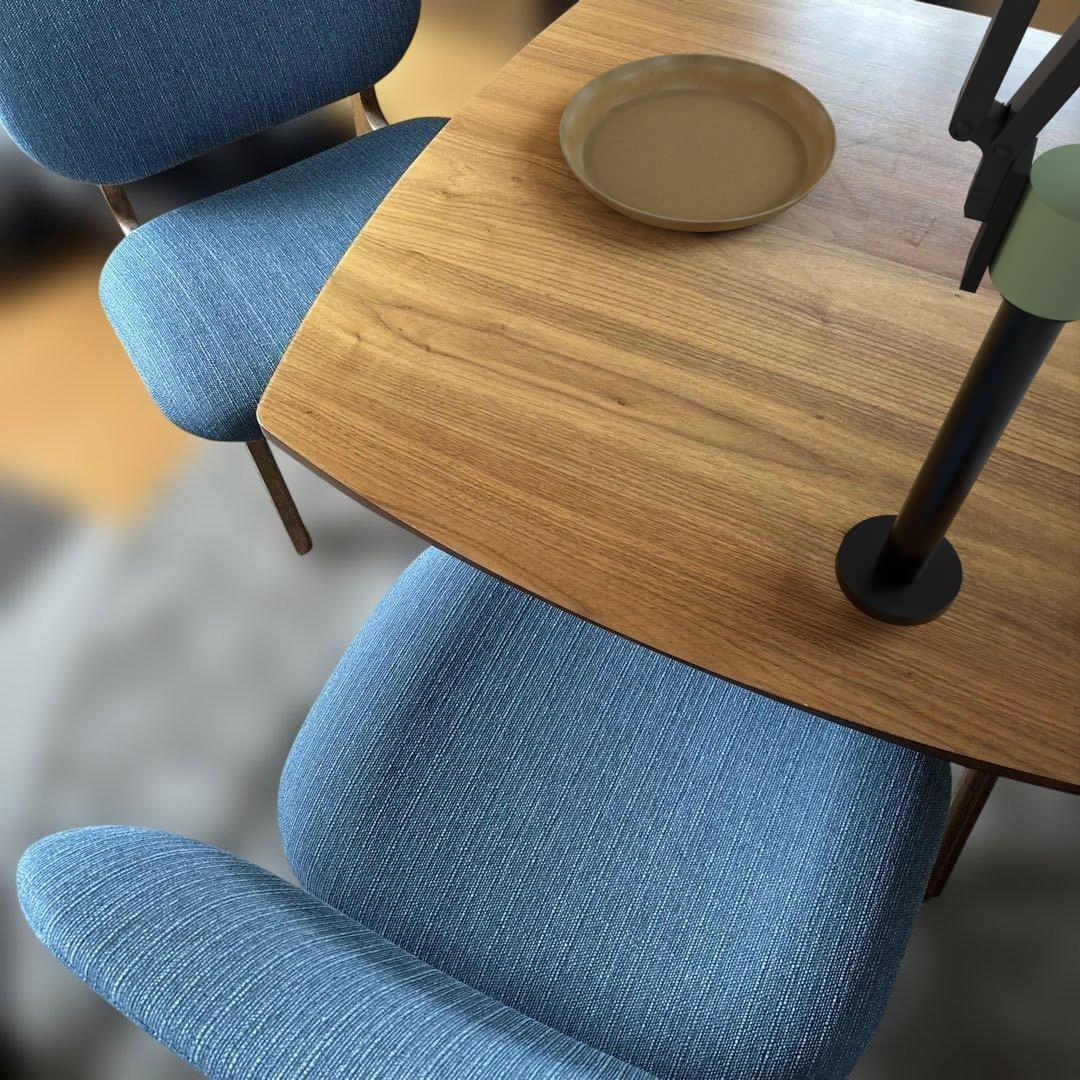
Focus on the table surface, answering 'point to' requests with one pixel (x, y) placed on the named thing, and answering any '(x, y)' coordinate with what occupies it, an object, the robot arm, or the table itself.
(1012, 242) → the sage green cylinder
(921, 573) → the stand
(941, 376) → the table surface
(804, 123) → the plant saucer
